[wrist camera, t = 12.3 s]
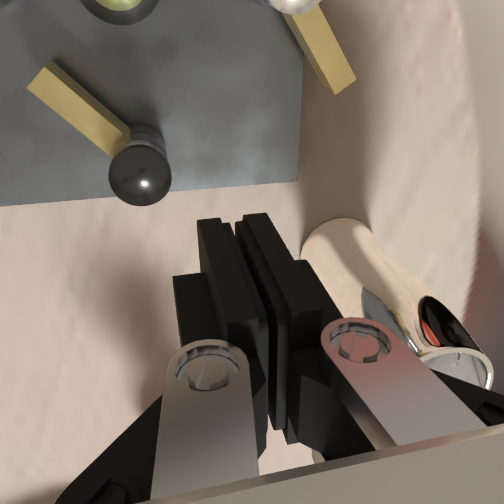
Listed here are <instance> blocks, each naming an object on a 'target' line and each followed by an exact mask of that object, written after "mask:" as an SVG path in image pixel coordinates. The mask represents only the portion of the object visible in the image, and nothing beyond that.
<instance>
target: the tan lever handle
mask: <svg viewBox="0 0 504 504" xmlns="http://www.w3.org/2000/svg"><path fill="white" fill-rule="evenodd" d="M27 89H28V90H29V91H31V92H32V93H33V94H34V95H36V96H37V97H38V98H39V99H40V100H42V101H43V102H44V103H45V104H47V105H48V106H49V107H50V108H52V109H53V110H54V111H55V112H56V113H58V114H59V115H60V116H61V117H63V118H64V119H65V120H66V121H68V122H69V123H70V124H71V125H73V126H74V127H75V128H76V129H77V130H79V131H80V132H81V133H82V134H84V135H85V136H86V137H87V138H89V139H90V140H91V141H92V142H93V143H95V144H96V145H97V146H98V147H100V148H101V149H102V150H103V151H105V152H106V153H107V154H108V155H110V156H111V157H112V158H113V159H112V161H111V163H110V167H109V173H108V179H109V184H110V187H111V189H112V190H113V192H114V193H115V194H116V196H117V197H118V198H120V199H121V200H122V201H124V202H126V203H128V204H131V205H135V206H148V205H152V204H154V203H156V202H158V201H160V200H161V199H162V198H164V196H165V195H166V194H167V193H168V191H169V189H170V186H171V182H172V175H171V168H170V165H169V162H168V159H167V152H166V145H165V142H164V139H163V138H162V136H161V135H160V134H159V133H158V132H157V131H156V130H155V129H153V128H152V127H149V126H146V125H139V124H138V125H132V126H129V127H128V126H126V125H125V124H124V123H123V122H122V121H121V120H120V119H118V118H117V117H116V116H115V115H114V114H113V113H112V112H110V111H109V110H108V109H107V108H106V107H105V106H103V105H102V104H101V103H100V102H99V101H98V100H97V99H95V98H94V97H93V96H92V95H91V94H90V93H89V92H87V91H86V90H85V89H84V88H83V87H82V86H80V85H79V84H78V83H77V82H76V81H75V80H74V79H72V78H71V77H70V76H69V75H68V74H67V73H66V72H64V71H63V70H62V69H61V68H60V67H59V66H57V65H56V64H55V63H54V62H53V61H52V60H51V61H50V62H49V63H48V64H47V65H46V66H45V67H44V68H43V69H42V70H41V71H40V73H39V74H38V75H37V76H36V77H35V79H34V80H33V81H32V82H31V83H30V85H29V86H28V87H27Z"/></svg>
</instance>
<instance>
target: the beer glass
mask: <svg viewBox="0 0 504 504" xmlns="http://www.w3.org/2000/svg"><path fill="white" fill-rule="evenodd" d="M302 259H305V260H307V261H308V262H309V263H310V265H311V267H312V268H313V270H314V271H315V273H316V274H317V276H318V278H319V279H320V281H321V282H322V284H323V286H324V287H325V289H326V290H327V292H328V293H329V295H330V297H331V298H332V300H333V301H334V303H335V304H336V306H337V308H338V309H339V311H340V312H341V314H342V316H343V317H344V318H347V317H361V318H366V319H370V320H374V321H376V322H378V323H380V324H382V325H384V326H386V327H387V328H388V329H390V330H391V331H392V332H393V333H394V334H395V335H396V336H397V337H398V338H399V339H400V340H401V341H402V342H403V343H404V344H405V345H406V346H407V347H408V348H409V349H410V350H411V351H412V352H413V353H414V354H415V355H416V356H417V357H418V358H419V359H420V360H421V361H422V362H423V363H424V364H425V365H426V366H427V367H428V368H431V369H433V370H436V371H439V372H441V373H444V374H447V375H449V376H452V377H455V378H458V379H460V380H463V381H466V382H468V383H471V384H474V385H477V386H479V387H482V388H485V389H487V390H490V388H491V385H492V382H493V375H494V373H493V367H492V364H491V362H490V360H489V359H488V358H487V356H486V355H484V353H483V352H482V351H481V350H480V348H479V347H478V345H477V344H476V343H475V341H474V340H473V338H472V337H471V336H470V334H469V333H468V332H467V330H466V329H465V328H464V326H463V325H462V324H461V322H460V321H459V320H458V319H457V318H456V316H455V315H454V314H453V313H452V312H451V310H450V309H449V308H448V307H447V306H446V305H445V304H444V303H443V302H442V301H441V300H440V299H439V298H438V297H437V296H436V295H435V294H434V293H433V292H432V291H431V290H430V289H429V288H427V287H426V286H425V285H424V284H423V283H421V282H420V281H419V280H418V279H416V278H415V277H413V276H412V275H411V274H409V273H408V272H406V271H405V270H404V269H402V268H401V267H399V266H398V265H396V264H395V263H394V262H392V261H391V260H390V259H388V258H387V257H386V256H385V255H384V254H383V253H382V252H381V251H380V249H379V247H378V245H377V243H376V241H375V239H374V236H373V235H372V233H371V231H370V230H369V228H368V227H367V226H366V225H365V224H363V223H362V222H360V221H358V220H355V219H351V218H337V219H333V220H330V221H327V222H325V223H323V224H321V225H320V226H318V227H317V228H316V229H315V230H313V231H312V232H311V233H310V235H309V236H308V237H307V239H306V240H305V242H304V244H303V246H302V249H301V255H300V260H302Z"/></svg>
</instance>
